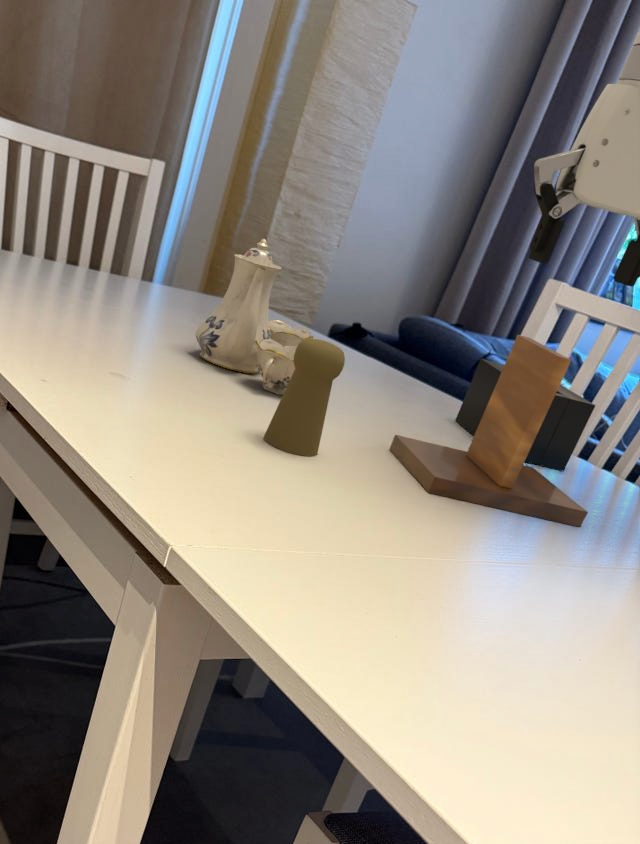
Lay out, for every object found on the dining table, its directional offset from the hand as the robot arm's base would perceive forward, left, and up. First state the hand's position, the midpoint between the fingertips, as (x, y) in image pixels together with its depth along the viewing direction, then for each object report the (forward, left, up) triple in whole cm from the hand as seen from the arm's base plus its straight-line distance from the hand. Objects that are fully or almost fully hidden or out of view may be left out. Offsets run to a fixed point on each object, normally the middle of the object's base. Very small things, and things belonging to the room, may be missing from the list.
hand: (580, 272), depth 93 cm
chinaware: (+23, -32, -24) cm, 46 cm away
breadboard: (+1, 0, -23) cm, 23 cm away
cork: (+24, +1, -24) cm, 33 cm away
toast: (0, 0, -22) cm, 22 cm away
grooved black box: (-13, -24, -23) cm, 36 cm away
